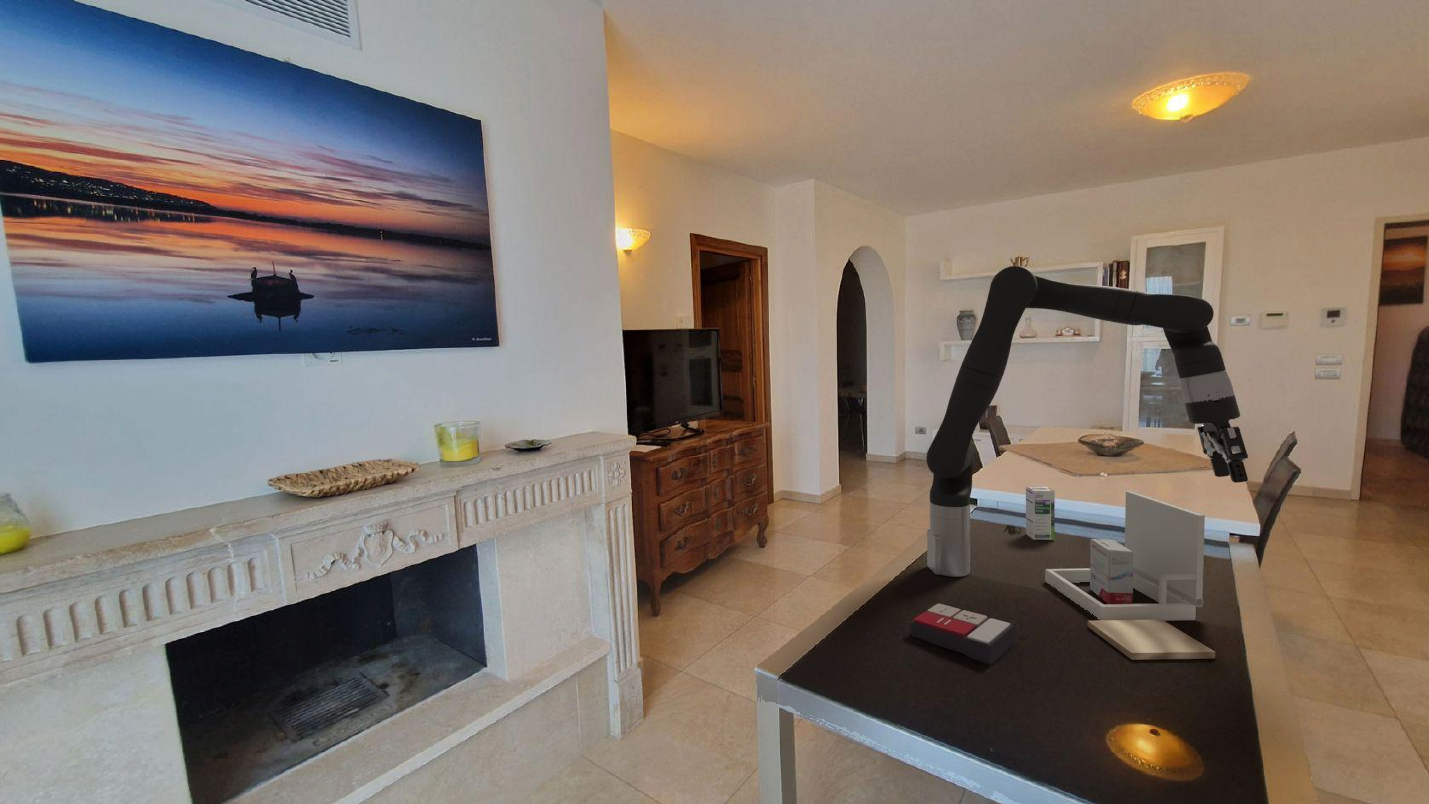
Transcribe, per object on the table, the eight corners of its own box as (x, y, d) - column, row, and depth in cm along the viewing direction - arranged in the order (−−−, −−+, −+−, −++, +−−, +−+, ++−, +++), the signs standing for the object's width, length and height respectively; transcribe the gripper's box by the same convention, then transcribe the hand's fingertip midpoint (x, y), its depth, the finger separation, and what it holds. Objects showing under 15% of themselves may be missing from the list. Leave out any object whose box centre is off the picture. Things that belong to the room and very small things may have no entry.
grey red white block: (937, 600, 114) (1014, 620, 103) (938, 621, 114) (1015, 643, 103) (909, 618, 107) (989, 641, 95) (910, 640, 107) (990, 666, 96)
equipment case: (1101, 621, 110) (1103, 517, 108) (1045, 581, 130) (1046, 493, 128) (1202, 619, 109) (1205, 515, 107) (1130, 580, 129) (1132, 491, 127)
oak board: (1131, 659, 96) (1131, 652, 96) (1087, 626, 108) (1087, 620, 108) (1215, 658, 95) (1215, 651, 95) (1161, 625, 107) (1161, 619, 107)
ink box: (1134, 606, 116) (1135, 551, 115) (1107, 605, 117) (1108, 550, 116) (1113, 590, 124) (1114, 538, 123) (1089, 588, 125) (1089, 537, 124)
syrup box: (1033, 540, 158) (1033, 490, 157) (1025, 533, 164) (1025, 485, 163) (1054, 540, 157) (1055, 490, 156) (1046, 534, 163) (1046, 485, 162)
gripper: (1173, 401, 116) (1194, 477, 115) (1196, 401, 104) (1220, 486, 102) (1219, 393, 113) (1241, 472, 112) (1248, 392, 100) (1273, 480, 99)
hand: (1231, 479), depth 107 cm, fingers open, 8 cm apart
